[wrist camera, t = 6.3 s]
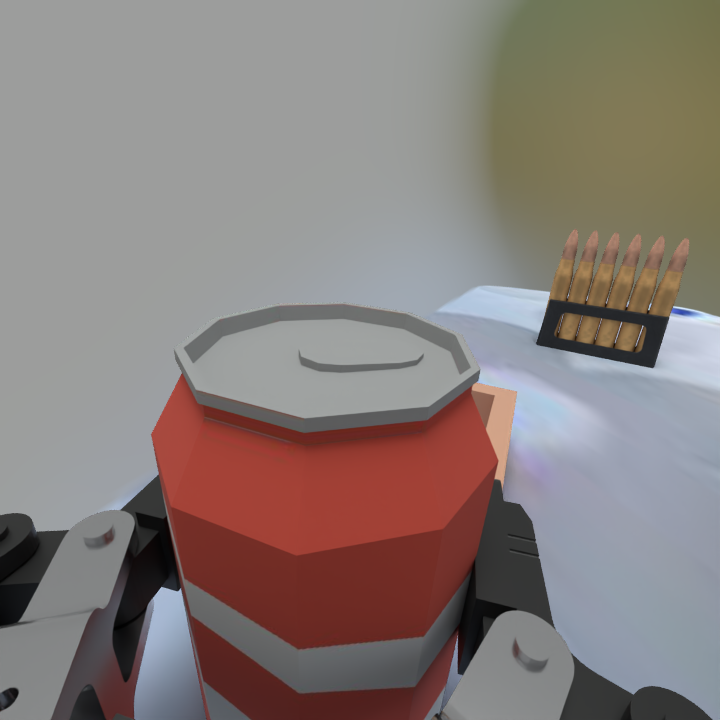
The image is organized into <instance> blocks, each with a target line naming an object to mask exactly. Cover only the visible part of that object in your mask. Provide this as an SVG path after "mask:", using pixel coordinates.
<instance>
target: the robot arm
mask: <svg viewBox="0 0 720 720" xmlns="http://www.w3.org/2000/svg"><path fill="white" fill-rule="evenodd" d="M535 541H536V539H535V534H534V529H533V524H532V521H531V519H530V518H529V517H528V515H527V514H526V512H525V511H524V509H523V508H522V506H521V505H520V504H516V503H511V502H506V501H503V493H502V485H501V481H500V480H498V479H494V483H493V487H492V491H491V496H490V500H489V504H488V508H487V513H486V517H485V521H484V526H483V530H482V534H481V538H480V543H479V547H478V551H477V555H476V557H475V560H474V565H473V569H472V573H471V578H470V582H469V586H468V590H467V595H466V599H465V603H464V608H463V612H462V616H461V620H460V625H459V629H458V674H460V675H463V676H462V678H461V680H460V682H459V683H458V685H457V687H456V689H455V690H454V692H453V694H452V695H451V697H450V699H449V701H448V702H447V704H446V706H445V707H444V709H443V710H442V711H441V713H439V714H438V713H436V714H435V715H434V716H433V717H432V718H431V720H712V719H711V718H710V717H709V716H708V715H707V714H706V713H705V712H704V711H703V710H701V709H700V708H699V707H698V706H696V705H695V704H694V703H692V702H691V701H689V700H688V699H686V698H685V697H683V696H681V695H679V694H678V693H676V692H673V691H671V690H668V689H665V688H661V687H655V686H649V687H644V688H642V689H639V690H638V691H637V692H636V693H635V694H634V695H633V694H631V693H629V692H628V691H626V690H624V689H622V688H621V687H619V686H617V685H616V684H614V683H612V682H610V681H609V680H607V679H605V678H603V677H602V676H600V675H598V674H597V673H595V672H593V671H592V670H590V669H589V668H587V667H586V666H585V665H584V664H582V663H581V662H580V661H579V660H578V659H577V658H576V657H575V656H574V655H573V654H572V653H571V652H570V650H569V648H568V646H567V644H566V642H565V641H564V639H563V638H562V637H561V635H560V634H559V633H558V632H557V631H556V629H555V627H554V624H553V620H552V616H551V611H550V606H549V602H548V597H547V592H546V587H545V582H544V577H543V573H542V568H541V563H540V559H539V553H538V548H537V544H536V543H535ZM161 587H164V588H168V589H171V590H175V591H179V589H180V588H181V585H180V580H179V575H178V570H177V565H176V559H175V554H174V549H173V544H172V539H171V534H170V528H169V523H168V518H167V513H166V508H165V503H164V497H163V492H162V487H161V482H160V477H159V475H158V476H157V477H156V478H154V479H153V480H152V481H151V482H150V483H149V484H148V485H147V486H146V487H145V488H144V489H143V490H141V491H140V492H139V493H138V494H137V495H136V496H135V497H134V498H133V499H132V500H131V501H130V502H129V503H127V504H126V505H125V506H124V507H123V508H122V509H121V510H109V511H104V512H100V513H97V514H94V515H91V516H89V517H87V518H85V519H84V520H82V521H80V522H79V523H78V524H76V525H75V526H74V527H72V528H71V529H70V530H65V531H45V532H36V530H35V527H34V525H33V522H32V519H31V518H30V517H29V516H27V515H25V514H19V513H12V514H5V515H0V720H135V719H134V695H135V688H136V684H137V679H138V675H139V671H140V666H141V662H142V657H143V653H144V649H145V644H146V640H147V635H148V631H149V627H150V622H151V618H152V613H153V609H154V600H153V597H154V596H155V594H156V593H157V592H158V590H159V589H160V588H161Z"/></svg>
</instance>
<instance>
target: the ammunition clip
mask: <svg viewBox="0 0 720 720" xmlns="http://www.w3.org/2000/svg"><path fill="white" fill-rule="evenodd" d="M577 245H578V232H577V229H574V230H573V232H572V233H571V235H570V236H569V238H568V240H567V242H566V245H565V248H564V251H563V254H562V258H561V260H560V264H559V266H558V269H557V271H556V273H555V277H554V281H553V285H552V288H551V292H550V296H549V300H548V304H547V308H546V312H545V316H544V320H543V323H542V327H541V330H540V333H539V336H538V340H537V344H538V345H540V346H545V347H550V348H555V349H560V350H565V351H570V352H575V353H580V354H585V355H590V356H595V357H600V358H605V359H610V360H615V361H620V362H625V363H630V364H635V365H639V366H644V367H649V368H653V367H654V365H655V362H656V359H657V356H658V353H659V349H660V346H661V343H662V340H663V337H664V333H665V330H666V327H667V324H668V320H669V316H670V313H671V311H672V308H673V305H674V302H675V300H676V297H677V294H678V292H679V288H680V281H681V278H682V274H683V270H684V267H685V264H686V261H687V257H688V251H689V240H688V238H685V239H684V240H683V241H682V242H681V243H680V245H679V246H678V248H677V249H676V251H675V253H674V254H673V256H672V258H671V261H670V263H669V266H668V269H667V270H666V272H665V275H664V277H663V279H662V281H661V282H660V284H659V286H658V288H657V291H656V294H655V296H654V299H653V302H652V305H651V307H650V310H648V308H649V305H650V302H651V299H652V296H653V293H654V290H655V287H656V282H657V276H658V273H659V268H660V265H661V262H662V258H663V254H664V245H665V241H664V237H663V236H661V237H660V238H659V239H658V240H657V241H656V243H655V244H654V246H653V247H652V249H651V251H650V253H649V255H648V257H647V260H646V263H645V265H644V267H643V270H642V272H641V275H640V277H639V279H638V280H637V282H636V284H635V287H634V290H633V293H632V296H631V299H630V302H629V305H628V307H626V305H627V302H628V299H629V296H630V293H631V290H632V287H633V283H634V275H635V271H636V266H637V263H638V259H639V255H640V250H641V236H640V234H637V236H635V238H634V239H633V241H632V242H631V244H630V246H629V248H628V249H627V252H626V254H625V256H624V259H623V262H622V265H621V267H620V270H619V273H618V274H617V276H616V278H615V280H614V282H613V286H612V289H611V292H610V295H609V298H608V301H607V297H608V294H609V291H610V287H611V284H612V281H613V271H614V267H615V262H616V259H617V255H618V249H619V234H618V232H616V233H615V234H614V235H613V236H612V238H611V239H610V241H609V243H608V245H607V247H606V249H605V251H604V254H603V257H602V260H601V263H600V265H599V268H598V271H597V273H596V275H595V277H594V279H593V282H592V286H591V289H590V293H589V296H588V299H587V295H588V292H589V288H590V285H591V281H592V276H593V267H594V263H595V262H594V261H595V258H596V254H597V247H598V233H597V231H594V232H593V233H592V235H591V236H590V238H589V240H588V242H587V244H586V246H585V248H584V251H583V254H582V258H581V261H580V263H579V266H578V269H577V271H576V273H575V275H574V278H573V282H572V286H571V289H570V293H569V296H568V292H569V288H570V285H571V281H572V276H573V266H574V262H575V256H576V252H577ZM567 296H568V298H567ZM586 299H587V301H586ZM606 301H607V304H606ZM563 314H564V315H563ZM582 315H583V316H582ZM562 316H563V319H562ZM581 317H582V320H581ZM601 318H602V321H601ZM561 320H562V322H561ZM580 321H581V323H580ZM600 321H601V324H600ZM621 322H622V325H621V328H620V331H619V334H618V337H617V333H618V330H619V327H620V324H621ZM560 323H561V326H560ZM579 324H580V327H579ZM599 324H600V327H599ZM642 325H643V326H644V327H643V330H642V332H641V335H640V338H639V341H638V343H637V340H638V337H639V334H640V331H641V328H642ZM559 327H560V330H559ZM578 328H579V330H578ZM598 328H599V330H598ZM558 331H559V333H558ZM577 331H578V334H577ZM597 331H598V333H597ZM596 334H597V336H596ZM576 335H577V336H576ZM616 337H617V340H616ZM595 338H596V340H595ZM615 340H616V343H615ZM636 343H637V346H636ZM635 346H636V347H635Z"/></svg>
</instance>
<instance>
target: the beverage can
mask: <svg viewBox="0 0 720 720" xmlns="http://www.w3.org/2000/svg"><path fill="white" fill-rule="evenodd" d="M174 353H175V359H176V362H177V363H178V365H179V367H180V369H181V371H182V374H181V376H180V378H179V380H178V382H177V384H176V386H175V389H174V390H173V392H172V394H171V396H170V398H169V400H168V402H167V404H166V406H165V408H164V410H163V412H162V414H161V416H160V418H159V420H158V422H157V424H156V426H155V428H154V430H153V432H152V434H151V436H152V440H153V446H154V451H155V456H156V461H157V467H158V472H159V477H160V482H161V487H162V492H163V497H164V503H165V508H166V513H167V518H168V523H169V528H170V534H171V539H172V544H173V549H174V554H175V559H176V565H177V570H178V575H179V580H180V585H181V590H182V596H183V601H184V606H185V611H186V616H187V621H188V626H189V632H190V637H191V642H192V647H193V652H194V657H195V663H196V668H197V673H198V678H199V683H200V688H201V694H202V699H203V704H204V709H205V714H206V719H207V720H431V718H432V717H433V716H434V715H435V714H436V713H438V714H439V713H440V709H441V705H442V700H443V696H444V692H445V688H446V683H447V679H448V675H449V671H450V666H451V662H452V658H453V653H454V649H455V645H456V641H457V636H458V629H459V625H460V620H461V616H462V612H463V608H464V603H465V599H466V595H467V590H468V586H469V582H470V578H471V573H472V569H473V565H474V560H475V557H476V555H477V551H478V547H479V543H480V538H481V534H482V530H483V526H484V521H485V517H486V513H487V508H488V504H489V500H490V496H491V491H492V487H493V483H494V479H495V474H496V470H497V466H498V462H499V460H498V458H497V455H496V453H495V451H494V448H493V446H492V443H491V441H490V438H489V436H488V433H487V431H486V428H485V426H484V424H483V421H482V419H481V416H480V414H479V411H478V409H477V406H476V404H475V401H474V399H473V397H472V394H471V392H472V386H473V384H475V383H476V382H477V381H478V379H479V374H480V367H479V366H478V364H477V362H476V360H475V358H474V356H473V354H472V352H471V350H470V349H469V347H468V345H467V343H466V341H465V339H464V337H463V335H462V334H459V333H457V332H454V331H452V330H450V329H447V328H445V327H443V326H440V325H438V324H436V323H433V322H431V321H429V320H426V319H424V318H422V317H419V316H417V315H414V314H412V313H409V312H403V311H397V310H390V309H383V308H377V307H371V306H364V305H358V304H351V303H299V304H274V305H270V306H265V307H261V308H257V309H252V310H248V311H243V312H239V313H235V314H230V315H226V316H222V317H217V318H213V319H212V320H210V321H209V322H208V323H206V324H205V325H204V326H203V327H201V328H200V329H199V330H197V331H196V332H195V333H193V334H192V335H191V336H190V337H188V338H187V339H185V340H184V341H183V342H181V343H180V344H179V345H177V346H176V347H175V348H174Z"/></svg>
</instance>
